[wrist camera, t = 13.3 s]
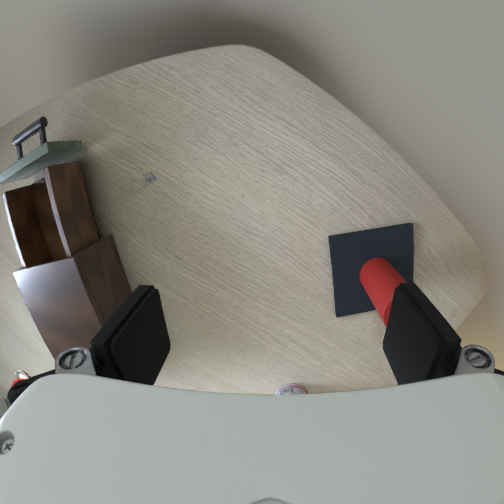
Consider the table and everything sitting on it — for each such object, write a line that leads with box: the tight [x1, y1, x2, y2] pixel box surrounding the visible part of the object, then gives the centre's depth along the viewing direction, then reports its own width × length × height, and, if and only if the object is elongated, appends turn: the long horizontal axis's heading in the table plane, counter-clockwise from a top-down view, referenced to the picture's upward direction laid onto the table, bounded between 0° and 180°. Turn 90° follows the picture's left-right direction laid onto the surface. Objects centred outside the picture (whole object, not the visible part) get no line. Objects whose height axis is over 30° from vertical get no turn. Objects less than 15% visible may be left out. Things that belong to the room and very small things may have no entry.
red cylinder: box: [360, 258, 407, 327], centre depth 25 cm, size 4×4×12 cm
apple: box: [11, 370, 29, 387], centre depth 44 cm, size 8×8×6 cm
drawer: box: [0, 117, 99, 268], centre depth 27 cm, size 19×11×6 cm, turn 11°
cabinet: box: [13, 234, 132, 360], centre depth 31 cm, size 16×13×8 cm
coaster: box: [329, 223, 414, 317], centre depth 30 cm, size 10×10×1 cm
